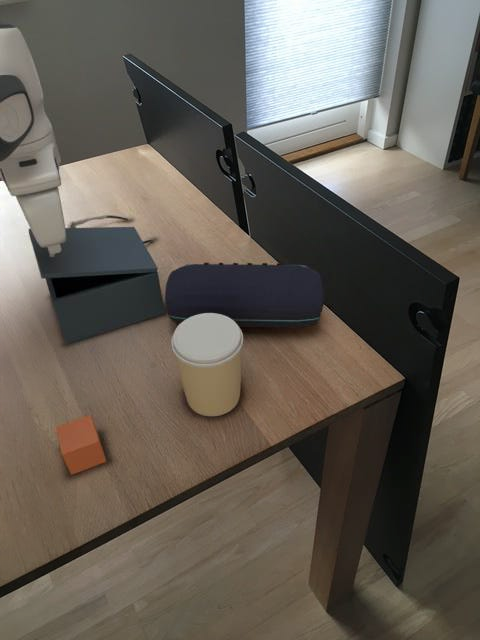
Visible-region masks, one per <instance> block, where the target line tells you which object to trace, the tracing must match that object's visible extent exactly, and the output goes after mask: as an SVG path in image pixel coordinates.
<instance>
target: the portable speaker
mask: <svg viewBox="0 0 480 640" xmlns="http://www.w3.org/2000/svg"><path fill="white" fill-rule="evenodd" d="M164 292H165V293H164V302H165V308H166V312H167V314H168V318H169V320H171V322H174V323H176V324H178V325H180V324H181V323H182V322H183V321H184V320H186V319H188V318H190V317H192V316H195V315H198V314H203V313H216V314H221V315H224V316H227V317H229V318H231V319H232V320H233V321H234V322H235V323H236V324H237V325H238V326H239V328H240V327H241V328H244V327H245V328H304V327H310V326H313V325H316V324H318V323H319V321H320V318H321V316H322V312H323V309H324V305H325V287H324V286H323V282H322V278H321V276H320V273H319V272H318V271H317V270H315V269H313V268H312V267H309V266H306V265H304V264H283V263H282V262H277V263H276V264H268V262H263V263H261V264H254V263H253V262H247V264H241V263H240V264H239V262H233V263H232V264H229V263H228V264H226V263H224V262H218V264H217V263H209V262H203V263H189V264H188V263H187V264H184V265H183V266H179V268H178V267H177V268H175V269H174V270H172V271H171V272H170V273H169V275H168V278H167V281H166V283H165V291H164Z"/></svg>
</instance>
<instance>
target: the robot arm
mask: <svg viewBox="0 0 480 640" xmlns="http://www.w3.org/2000/svg"><path fill="white" fill-rule="evenodd" d="M38 74H39V73H38V71H37V67H36V65H35V62H34V59H33V56H32V54H31V51H30V48H29V47H28V44H27V42H26V39H25V37H24V35H23V33H22V32H21V30H20V29H19V28H18V27H17V26H15V25H13V24H11V23H8V22H3V21H0V179H1V180H2V182H4V184H5V186H6V188H7V191H8V192H9V195H10V196H11V197H15V199H16V200H17V203H18V205H19V207H20V209H21V211H22V213H23V216H24V217H25V220H26V222H27V224H28V226H29V229H31V231H32V233H33V235H34V237H35V239H36V240H37V242H38V244H39V245H40V246H41V247H48V250H49V253H50V254H55V253H59V252H61V246H60V244H61V243H64V242H65V241H66V228H67V227H66V223H65V218H64V211H63V205H62V201H61V195H60V191H59V187H61V186H62V178H61V175H60V166H61V162H62V159H61V155H60V151H59V148H58V144H57V140H56V136H55V132H54V128H53V126H52V123H51V121H50V118H49V117H48V115H47V113H46V110H45V107H44V93H43V92H44V91H43V88H42V84H41V80H40V77H39V75H38Z"/></svg>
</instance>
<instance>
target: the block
mask: <svg viewBox="0 0 480 640" xmlns="http://www.w3.org/2000/svg"><path fill="white" fill-rule="evenodd" d="M55 431H56V435H57V441H58V443H59V449H60V453H61V456H62V458H63V460H64V463H65V465H66V467H67V469H68V471H69V474H70V475H74V474H77V473H80V472H83V471H85V470H88V469H90V468H93V467H96V466H98V465H101V464H104V463H106V462H107V459H106V455H105V451H104V449H103V446H102V443H101V439H100V436H99V432H98V430H97V427H96V424H95V421H94V418H93V416H92V414H88V415H85V416H83V417H80V418H76V419H74V420H71V421H68V422H66V423H63V424H59V425H57V426H55Z"/></svg>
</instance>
